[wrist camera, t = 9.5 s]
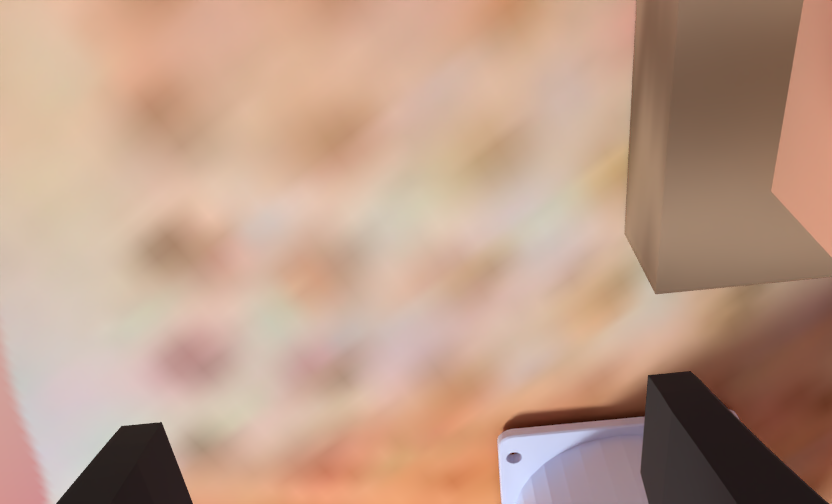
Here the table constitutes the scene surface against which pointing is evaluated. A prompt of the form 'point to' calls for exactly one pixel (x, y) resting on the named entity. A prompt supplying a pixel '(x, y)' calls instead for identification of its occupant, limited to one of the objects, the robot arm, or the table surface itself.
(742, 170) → the taupe block
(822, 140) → the terracotta cube
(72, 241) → the table surface
